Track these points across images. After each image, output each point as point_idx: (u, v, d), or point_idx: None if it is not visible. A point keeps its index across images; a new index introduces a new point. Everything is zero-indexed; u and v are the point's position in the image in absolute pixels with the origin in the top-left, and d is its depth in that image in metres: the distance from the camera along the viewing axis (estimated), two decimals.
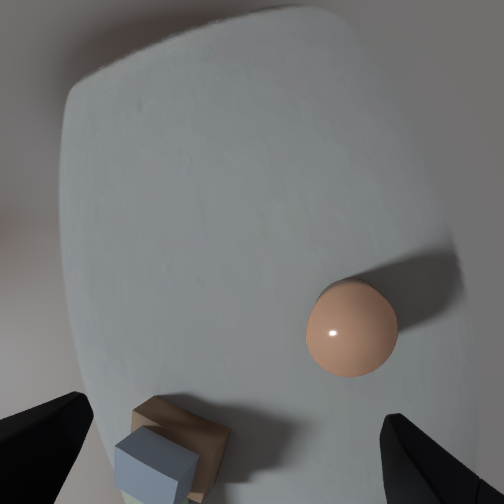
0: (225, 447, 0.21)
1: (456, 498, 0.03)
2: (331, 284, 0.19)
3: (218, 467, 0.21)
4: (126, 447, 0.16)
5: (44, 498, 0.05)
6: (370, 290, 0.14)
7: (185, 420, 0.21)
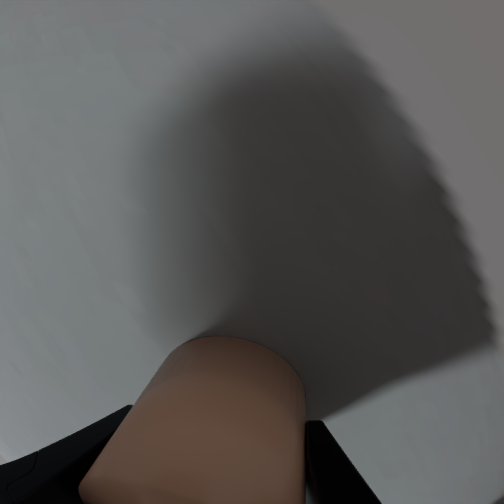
0: None
1: None
2: (164, 361, 0.08)
3: None
4: None
5: None
6: (169, 490, 0.03)
7: None
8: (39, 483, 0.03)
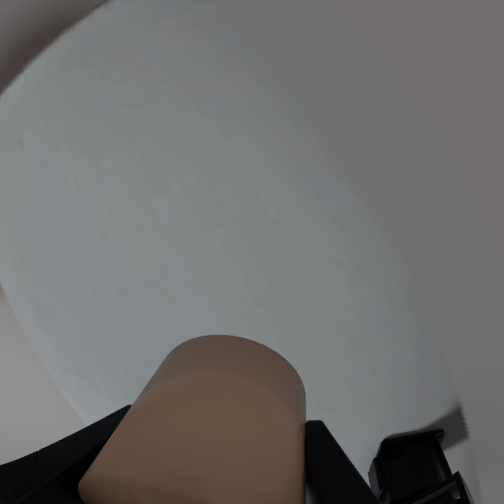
0: None
1: None
2: (164, 360, 0.08)
3: None
4: None
5: None
6: (169, 488, 0.03)
7: None
8: (39, 483, 0.03)
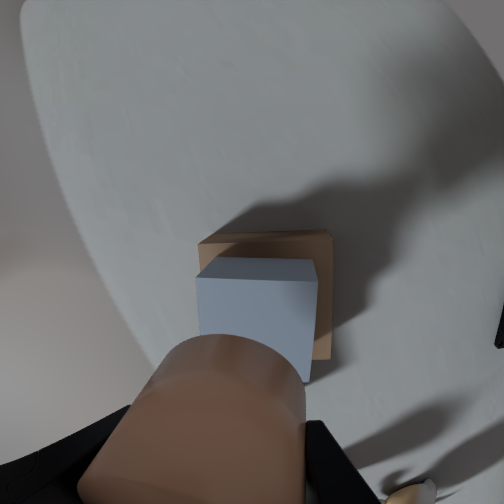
0: None
1: None
2: (164, 359, 0.08)
3: None
4: (214, 274, 0.13)
5: None
6: (168, 487, 0.03)
7: (270, 234, 0.17)
8: (39, 483, 0.03)
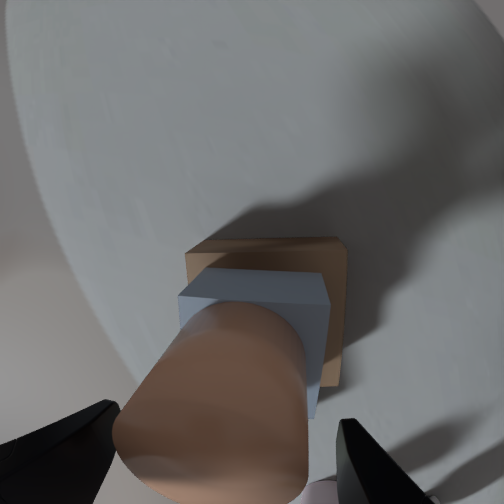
0: None
1: None
2: (184, 325, 0.10)
3: None
4: (201, 292, 0.10)
5: None
6: (198, 401, 0.05)
7: (271, 242, 0.15)
8: (14, 467, 0.04)
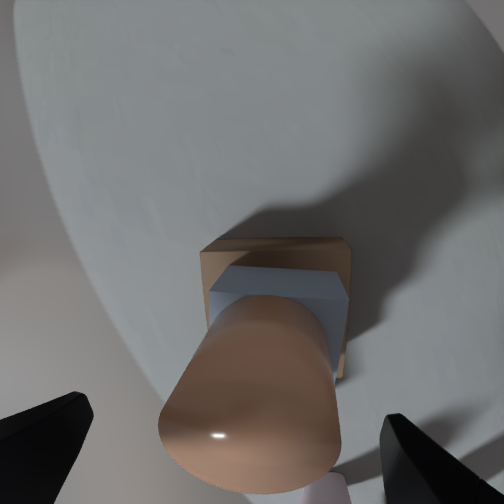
0: None
1: (456, 498, 0.03)
2: (216, 318, 0.11)
3: None
4: (230, 288, 0.11)
5: (45, 498, 0.05)
6: (249, 382, 0.06)
7: (280, 242, 0.16)
8: None
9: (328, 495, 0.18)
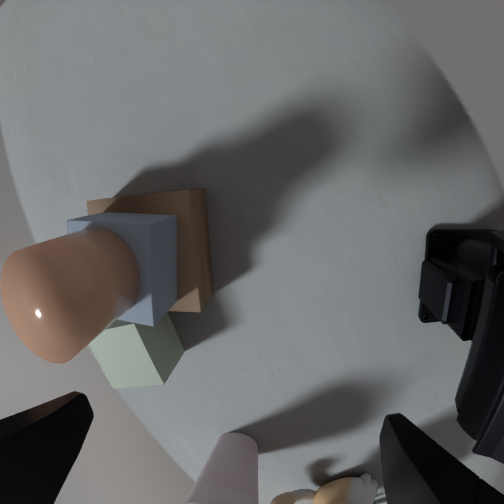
0: None
1: (456, 498, 0.03)
2: None
3: (207, 254, 0.20)
4: (81, 219, 0.14)
5: (44, 498, 0.05)
6: (28, 251, 0.09)
7: (149, 193, 0.18)
8: None
9: (229, 453, 0.21)
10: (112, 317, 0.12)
